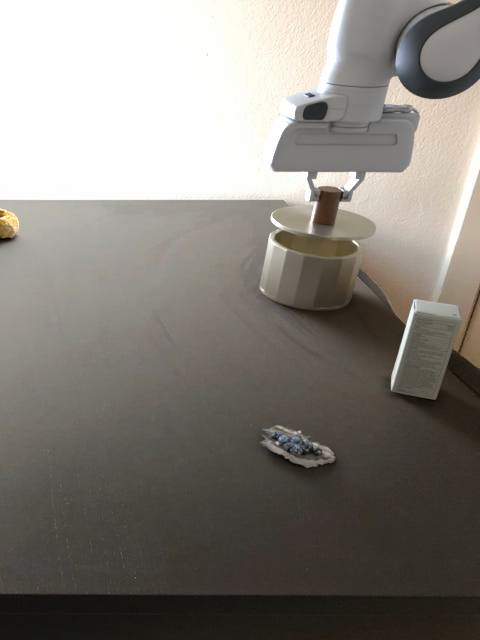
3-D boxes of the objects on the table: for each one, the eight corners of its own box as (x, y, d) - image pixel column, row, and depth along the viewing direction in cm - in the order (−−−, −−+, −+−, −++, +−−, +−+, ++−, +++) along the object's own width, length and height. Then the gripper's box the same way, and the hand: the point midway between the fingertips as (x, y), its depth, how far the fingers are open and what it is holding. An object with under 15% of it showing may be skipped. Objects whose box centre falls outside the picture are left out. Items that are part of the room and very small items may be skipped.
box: (434, 385, 93) (462, 305, 88) (436, 401, 90) (465, 319, 84) (388, 375, 95) (413, 297, 90) (388, 391, 92) (414, 311, 86)
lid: (349, 212, 119) (358, 175, 116) (392, 245, 106) (403, 204, 103) (257, 212, 119) (264, 175, 116) (289, 244, 106) (297, 204, 103)
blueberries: (261, 424, 85) (264, 410, 84) (336, 440, 82) (340, 426, 81) (256, 457, 79) (259, 443, 78) (336, 475, 77) (340, 461, 76)
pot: (329, 276, 124) (342, 227, 119) (365, 311, 112) (380, 258, 108) (248, 275, 123) (258, 226, 119) (275, 310, 112) (286, 257, 107)
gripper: (412, 100, 106) (386, 194, 113) (270, 99, 106) (253, 194, 113) (434, 108, 101) (406, 207, 108) (285, 108, 101) (266, 206, 107)
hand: (327, 200), depth 110 cm, fingers closed on lid, 3 cm apart
